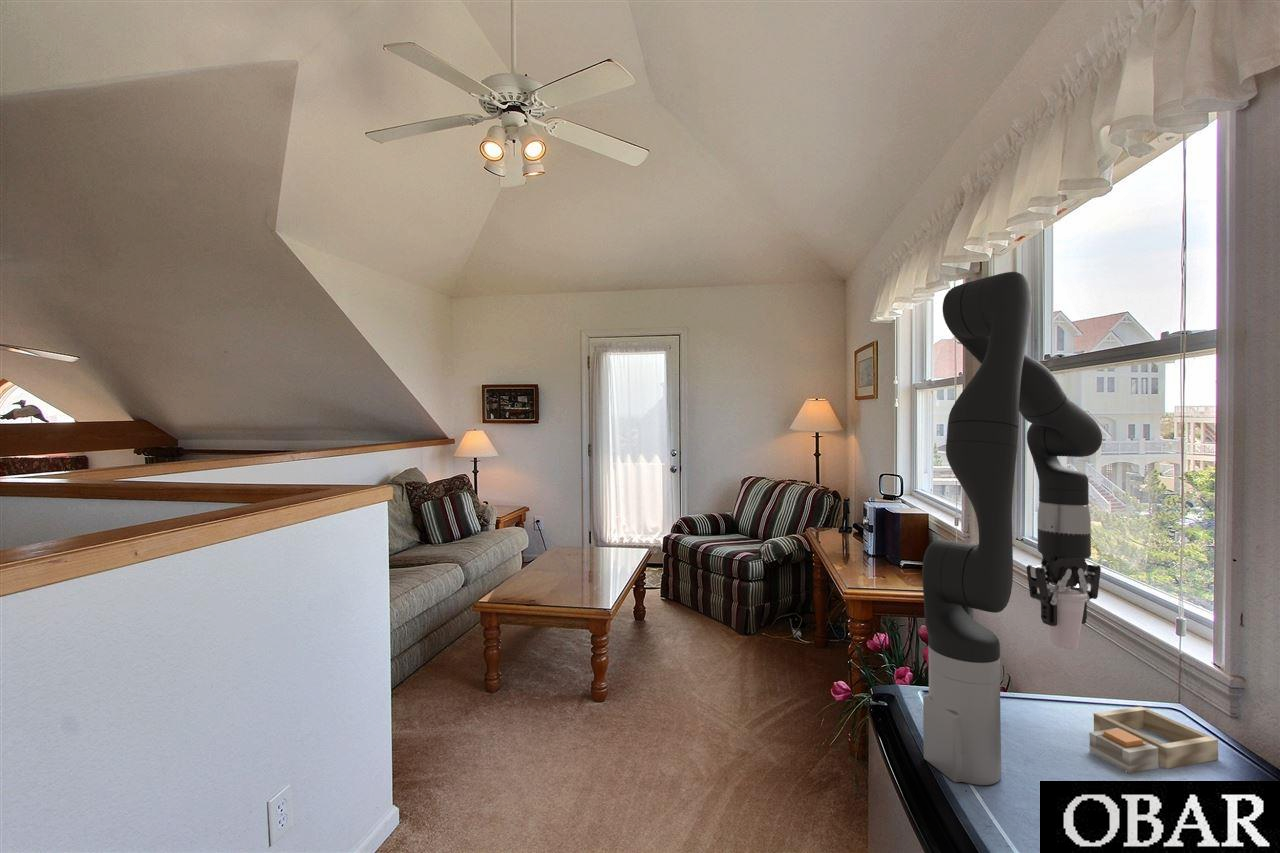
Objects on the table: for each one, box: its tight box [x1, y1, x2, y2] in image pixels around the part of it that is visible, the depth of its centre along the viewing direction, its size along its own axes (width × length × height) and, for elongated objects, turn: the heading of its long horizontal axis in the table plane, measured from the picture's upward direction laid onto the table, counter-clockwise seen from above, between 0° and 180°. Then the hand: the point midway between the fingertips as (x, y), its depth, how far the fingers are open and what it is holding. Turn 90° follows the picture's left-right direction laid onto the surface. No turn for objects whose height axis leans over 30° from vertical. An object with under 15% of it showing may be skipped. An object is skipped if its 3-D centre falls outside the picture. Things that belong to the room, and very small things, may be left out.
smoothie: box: [1047, 586, 1088, 650], centre depth 97 cm, size 6×6×14 cm
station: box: [1089, 706, 1219, 774], centre depth 86 cm, size 17×10×3 cm, turn 103°
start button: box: [1104, 729, 1143, 748], centre depth 83 cm, size 3×3×2 cm
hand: (1064, 623), depth 97 cm, fingers closed on smoothie, 5 cm apart
